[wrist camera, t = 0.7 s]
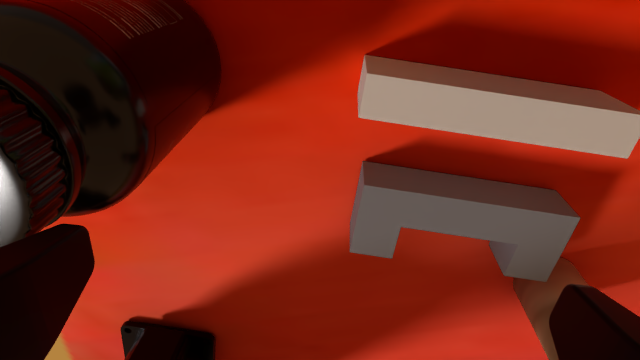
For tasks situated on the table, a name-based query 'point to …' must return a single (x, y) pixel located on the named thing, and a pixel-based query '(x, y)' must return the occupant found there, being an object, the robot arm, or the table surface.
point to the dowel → (546, 299)
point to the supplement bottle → (94, 101)
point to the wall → (496, 107)
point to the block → (462, 216)
